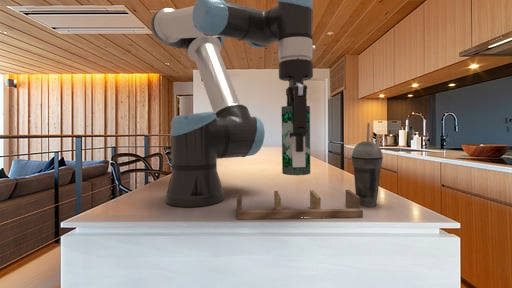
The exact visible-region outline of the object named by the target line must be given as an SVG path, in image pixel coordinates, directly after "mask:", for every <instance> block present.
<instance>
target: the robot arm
mask: <svg viewBox="0 0 512 288" xmlns="http://www.w3.org/2000/svg"><path fill="white" fill-rule="evenodd" d="M276 1H277V5H275V6H273V7H270V8H269V9H267V10H261V9H259V8H255V7H250V6H247V5H243V4H239V3H236V2H232V1H229V0H196V2H195V3H194V5H193V6H187V7H183V8H179V9H174V8H169V7H166V8H161V9H159V10H157V11H156V12H155V13H154V14H153V15H152V17H151V19H150V30H151V33H152V35H153V36H154V37H155V38H156V39H157V41H159V43H162V44H163V45H165V46H167V47H171V48H175V49H181V50H186V52H187V55H188V57H189V59H191V60H192V61H194V62H195V64H196V67H197V70H198V73H199V75H200V78H201V82H202V83H203V84H202V85H203V87H204V90H205V92H206V96H207V99H208V101H209V104H210V107H211V109H212V111H206V112H197V113H195V112H194V113H187V114H180V115H175V116H174V117H173V118H172V119H171V122H170V146H171V147H170V149H171V151H170V152H171V175H170V177H169V178H170V179H169V182H168V187H167V190H166V192H165V203H166V204H168V205H169V206H173V207H181V208H183V207H184V208H190V207H191V208H192V207H193V208H194V207H205V206H211V205H215V204H218V203H221V202H222V201H224V199H225V195H224V194H225V193H224V188H223V185H222V182H221V179H220V176H219V173H218V170H217V169H218V167H217V166H218V165H217V164H218V163H217V160H218V159H232V158H246V157H249V156H254V155H256V154H258V153H259V152H260V150H261V148H262V146H263V144H264V139H265V126H264V123H263V121H262V120H261V119H260V118H258V117H257V116H255V115H254V116H252V115H251V114H250V111H249V108H248V107H247V106H246V105H245V104H243V103H241V102H240V100H239V97H238V95H237V93H236V90H235V87H234V84H233V83H232V80H231V78H230V75H229V73H228V70H227V67H226V65H225V63H224V60H223V57H222V55H221V51H222V48H223V45H224V41H225V38H228V39H234V40H239V41H243V42H245V43H246V44H247V45H249V46H250V47H251V48H253V49H260V48H266V47H269V46H270V45H273V44H275V43H277V46H278V47H277V51H278V53H277V58H278V61H280V62H279V63H278V79H279V80H280V81H285V82H288V87H287V88H286V89H285V95H286V106H292V120H293V133H290V137H291V136H296V137H292V167H306V166H305V135H306V133H307V132H308V129H307V106H308V103H307V92H308V85H307V84H304V81H310V80H312V78H313V77H314V63H313V61H312V59H313V51H315V50H316V45H313V41H314V40H313V39H314V38H313V19H314V18H313V17H314V16H313V15H314V13H313V12H314V7H313V6H314V5H313V0H276Z"/></svg>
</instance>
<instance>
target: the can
mask: <svg viewBox="0 0 512 288" xmlns="http://www.w3.org/2000/svg"><path fill="white" fill-rule="evenodd" d="M307 129H308V132H307V133H306V135H305V166H306V167H292V137H296V136H291V137H290V133H293V120H292V106H287V105H283V106H281V160H282V161H281V162H282V164H281V166H282V167H281V169H282V170H281V172H282V173H281V174H283V175H287V176H308V175H310V174H311V106H310V105H307Z"/></svg>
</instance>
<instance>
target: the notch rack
mask: <svg viewBox="0 0 512 288" xmlns="http://www.w3.org/2000/svg"><path fill="white" fill-rule="evenodd" d="M273 196H274V197H273V199H274V203H273V205H274V207H273V208H274V209H256V210H255V209H254V210H253V209H252V210H250V209H248V210H243V193H242V191H241V190H240V191H238V192H237V196H236V220H237V219H249V220H269V219H268V218H301V217H303V218H304V217H316V218H315V219H326V218H325V217H364V216H363V215H364V210H363V209H362V208H361V206H360V197H359V196H358V195H356V192H353V191H352V190H350V189H345V207H346V208H322V207H321V206H322V205H321V197H320V195H319V194H318V193H317V191H315V190H314V189H311V190H310V189H309V207H310V208H309V209H305V208H304V209H300V208H299V209H282V207H281V206H282V205H281V203H282V201H281V199H282V198H281V196H280V193H279V190H273ZM317 217H318V218H317ZM319 217H320V218H319ZM323 217H324V218H323Z"/></svg>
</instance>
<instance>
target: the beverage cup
mask: <svg viewBox="0 0 512 288" xmlns="http://www.w3.org/2000/svg"><path fill="white" fill-rule="evenodd" d="M366 124H367V127H366V141H364V140H363V141H361V142H359V143H358V144H356V145H355V146H354V148H353V150H352V154H351V161H352V167H353V175H354V176H353V177H354V178H353V179H354V187H355V188H354V189H355V194H356V195H358V196H359V197H360V207H366V208H367V207H368V208H372V207H376V206H377V201H378V197H379V196H378V195H379V185H380V178H381V175H380V174H381V167H382V166H383V165H382V164H383V159H384V157H383V151H382V149H381V147H380V146H379V145H378V144H377V143H376V142H374V141H370V125H371V124H370V122H367V123H366Z"/></svg>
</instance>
